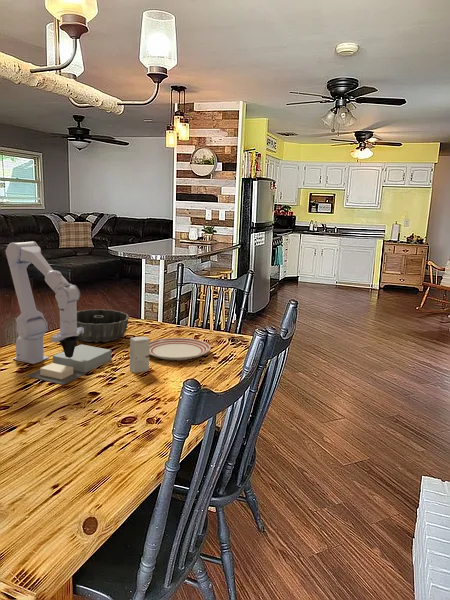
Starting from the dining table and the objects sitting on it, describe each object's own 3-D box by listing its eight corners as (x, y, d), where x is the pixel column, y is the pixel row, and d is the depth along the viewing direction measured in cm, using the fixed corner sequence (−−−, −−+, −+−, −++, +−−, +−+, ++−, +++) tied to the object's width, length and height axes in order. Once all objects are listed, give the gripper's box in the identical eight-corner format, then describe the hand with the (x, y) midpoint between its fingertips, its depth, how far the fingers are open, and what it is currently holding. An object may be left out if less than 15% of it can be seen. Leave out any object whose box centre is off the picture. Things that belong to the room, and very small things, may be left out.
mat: (25, 376, 159) (25, 375, 159) (50, 365, 170) (50, 365, 170) (63, 385, 153) (63, 384, 153) (86, 373, 164) (86, 372, 164)
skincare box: (133, 373, 167) (134, 341, 164) (129, 369, 170) (129, 337, 168) (149, 370, 170) (150, 338, 168) (144, 366, 174) (145, 335, 171)
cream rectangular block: (52, 362, 165) (52, 369, 166) (40, 368, 160) (40, 374, 160) (73, 367, 162) (73, 373, 163) (61, 372, 157) (61, 379, 157)
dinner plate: (129, 357, 184) (129, 349, 183) (164, 340, 209) (164, 333, 208) (192, 369, 174) (192, 361, 173) (220, 350, 199) (220, 342, 198)
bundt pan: (138, 333, 217) (138, 312, 215) (112, 349, 192) (112, 326, 190) (87, 327, 222) (86, 306, 220) (55, 342, 197) (54, 319, 195)
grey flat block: (53, 366, 170) (52, 355, 169) (81, 354, 184) (81, 344, 183) (84, 373, 165) (84, 362, 164) (111, 359, 179) (111, 350, 178)
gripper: (63, 326, 156) (64, 364, 158) (90, 317, 169) (91, 353, 172) (46, 323, 158) (47, 361, 161) (74, 314, 171) (75, 349, 174)
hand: (69, 356), depth 166 cm, fingers closed
